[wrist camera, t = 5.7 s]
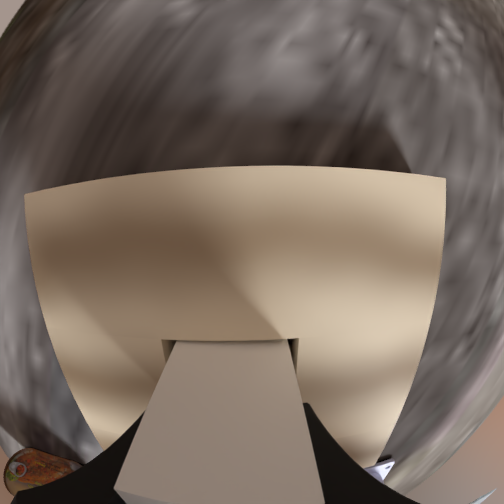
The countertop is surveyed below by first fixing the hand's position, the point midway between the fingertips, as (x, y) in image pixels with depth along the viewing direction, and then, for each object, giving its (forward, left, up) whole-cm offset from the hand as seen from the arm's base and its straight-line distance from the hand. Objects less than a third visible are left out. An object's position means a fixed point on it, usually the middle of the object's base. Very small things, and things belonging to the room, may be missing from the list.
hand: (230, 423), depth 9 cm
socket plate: (0, 0, -4) cm, 4 cm away
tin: (-18, +21, -5) cm, 28 cm away
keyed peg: (0, 0, -3) cm, 3 cm away
